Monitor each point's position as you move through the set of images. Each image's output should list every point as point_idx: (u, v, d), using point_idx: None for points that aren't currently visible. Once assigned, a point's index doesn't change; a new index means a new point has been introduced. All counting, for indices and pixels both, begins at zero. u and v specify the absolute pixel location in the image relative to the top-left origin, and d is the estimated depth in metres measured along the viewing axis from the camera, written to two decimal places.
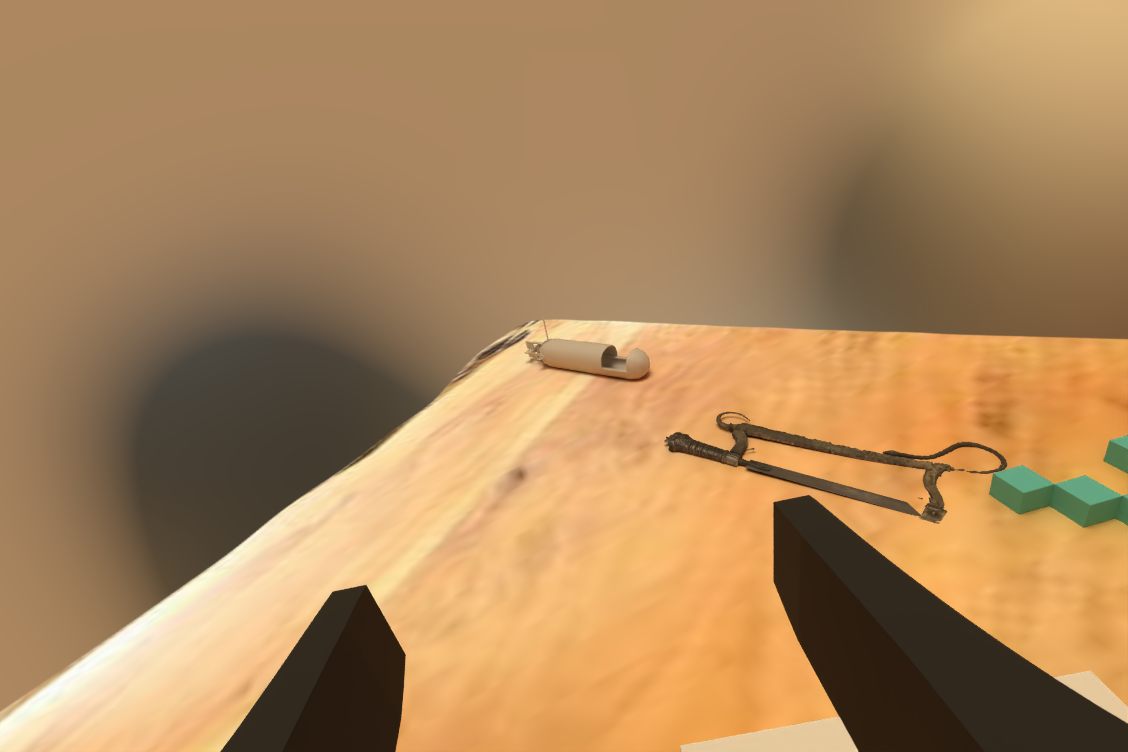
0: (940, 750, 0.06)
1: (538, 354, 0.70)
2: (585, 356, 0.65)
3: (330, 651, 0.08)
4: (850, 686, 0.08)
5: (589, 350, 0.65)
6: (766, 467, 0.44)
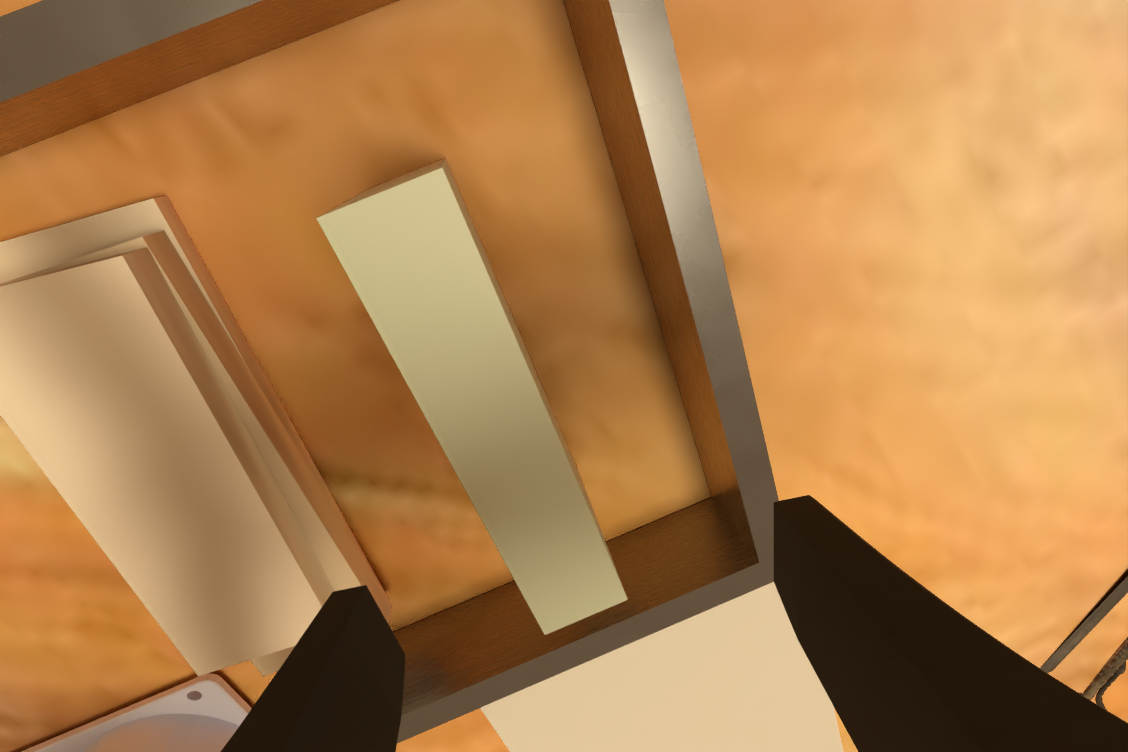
0: (940, 750, 0.06)
1: None
2: None
3: (330, 651, 0.08)
4: (849, 686, 0.08)
5: None
6: None
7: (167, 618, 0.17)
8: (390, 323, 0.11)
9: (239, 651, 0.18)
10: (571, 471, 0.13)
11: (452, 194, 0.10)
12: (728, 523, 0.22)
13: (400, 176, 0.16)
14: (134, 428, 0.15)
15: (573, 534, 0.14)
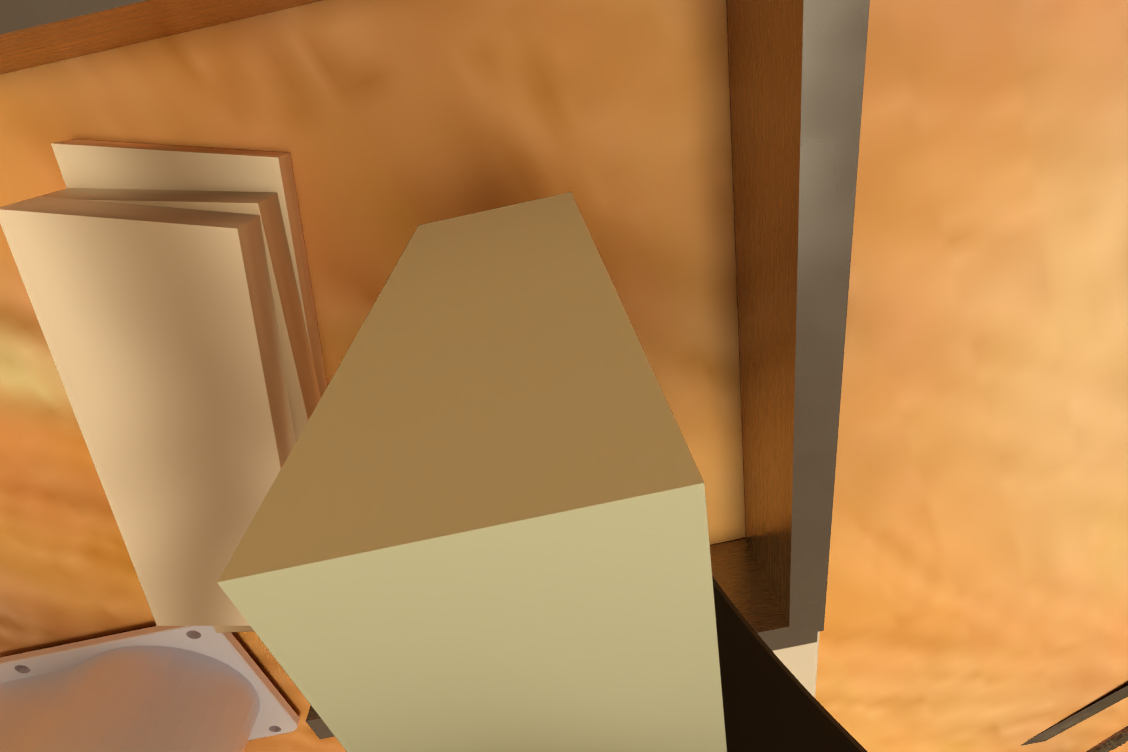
0: None
1: None
2: None
3: None
4: None
5: None
6: None
7: (146, 568, 0.16)
8: None
9: (207, 616, 0.17)
10: None
11: (704, 550, 0.03)
12: (761, 573, 0.21)
13: (484, 223, 0.08)
14: (182, 393, 0.14)
15: None
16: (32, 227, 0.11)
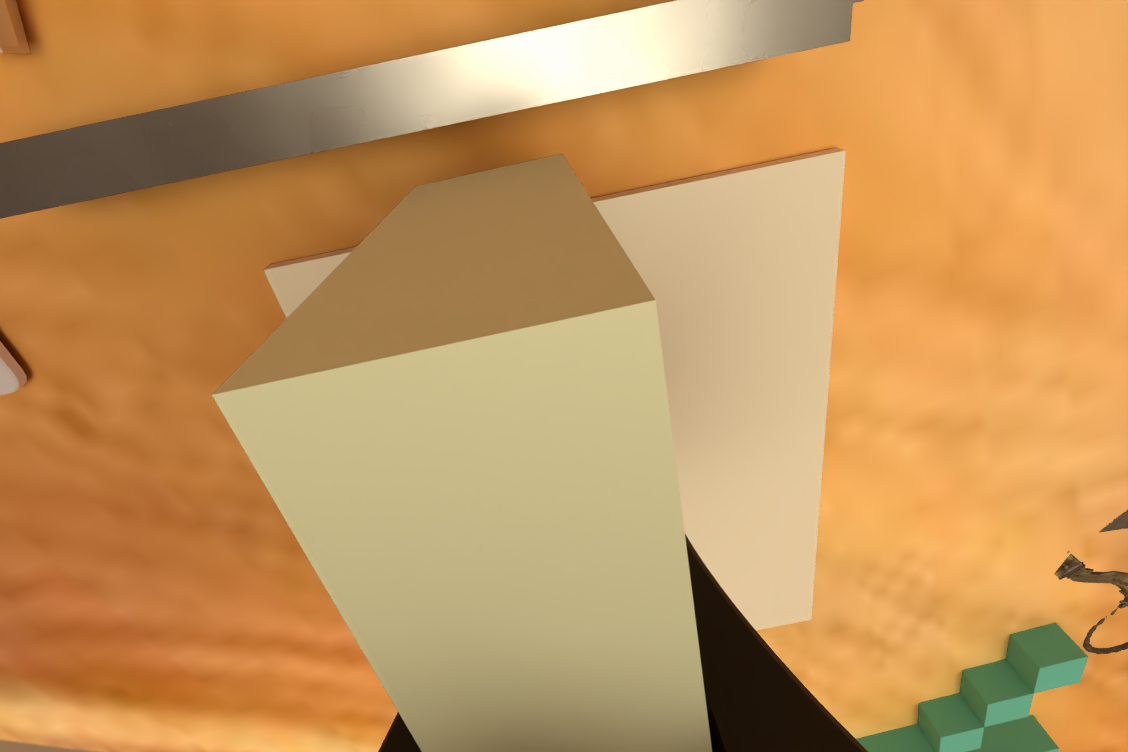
0: None
1: None
2: None
3: None
4: None
5: None
6: None
7: None
8: (402, 649, 0.04)
9: None
10: None
11: (659, 378, 0.03)
12: None
13: (477, 179, 0.08)
14: None
15: None
16: None
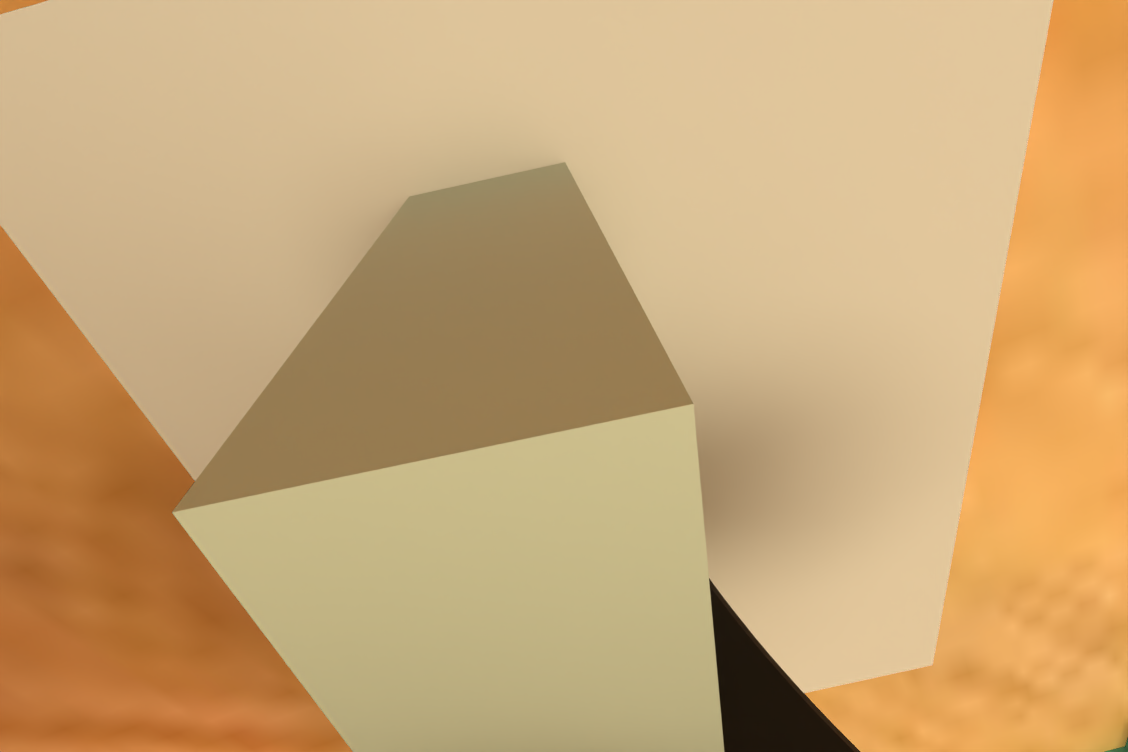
0: None
1: None
2: None
3: None
4: None
5: None
6: None
7: None
8: (399, 751, 0.04)
9: None
10: None
11: (694, 482, 0.03)
12: None
13: (475, 192, 0.08)
14: None
15: None
16: None
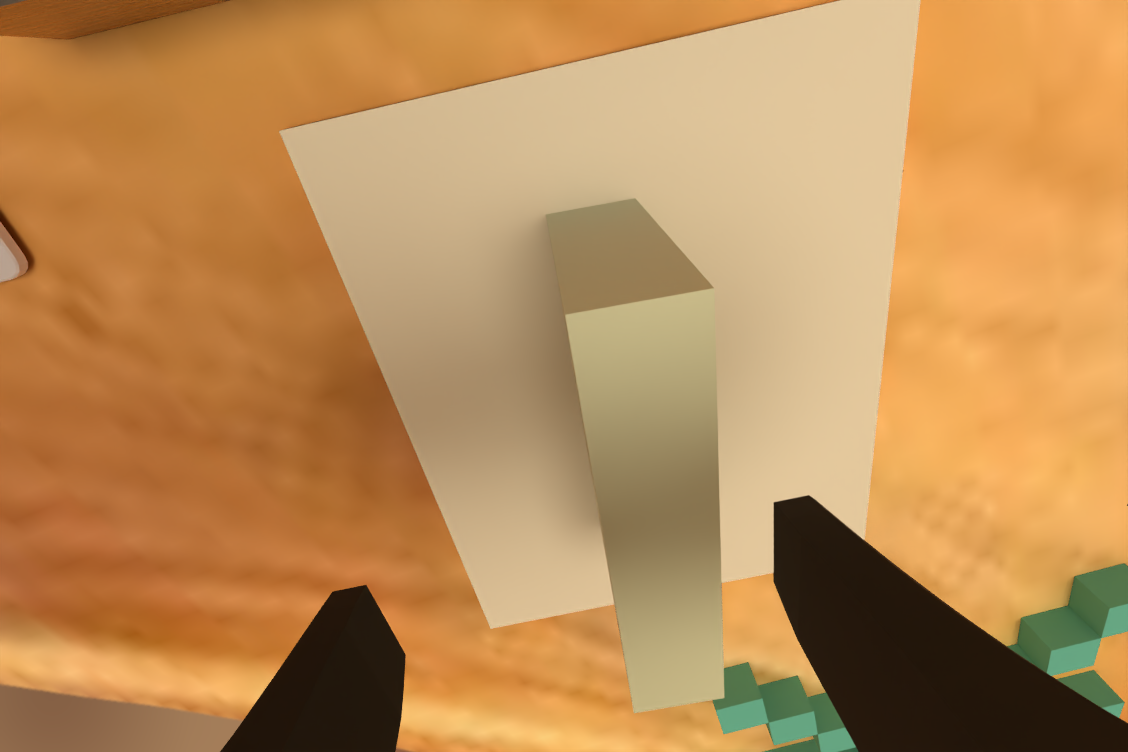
0: (940, 750, 0.06)
1: None
2: None
3: (330, 651, 0.08)
4: (849, 686, 0.08)
5: None
6: None
7: None
8: (600, 425, 0.10)
9: None
10: (719, 584, 0.13)
11: (712, 315, 0.09)
12: None
13: (588, 214, 0.14)
14: None
15: (697, 637, 0.14)
16: None
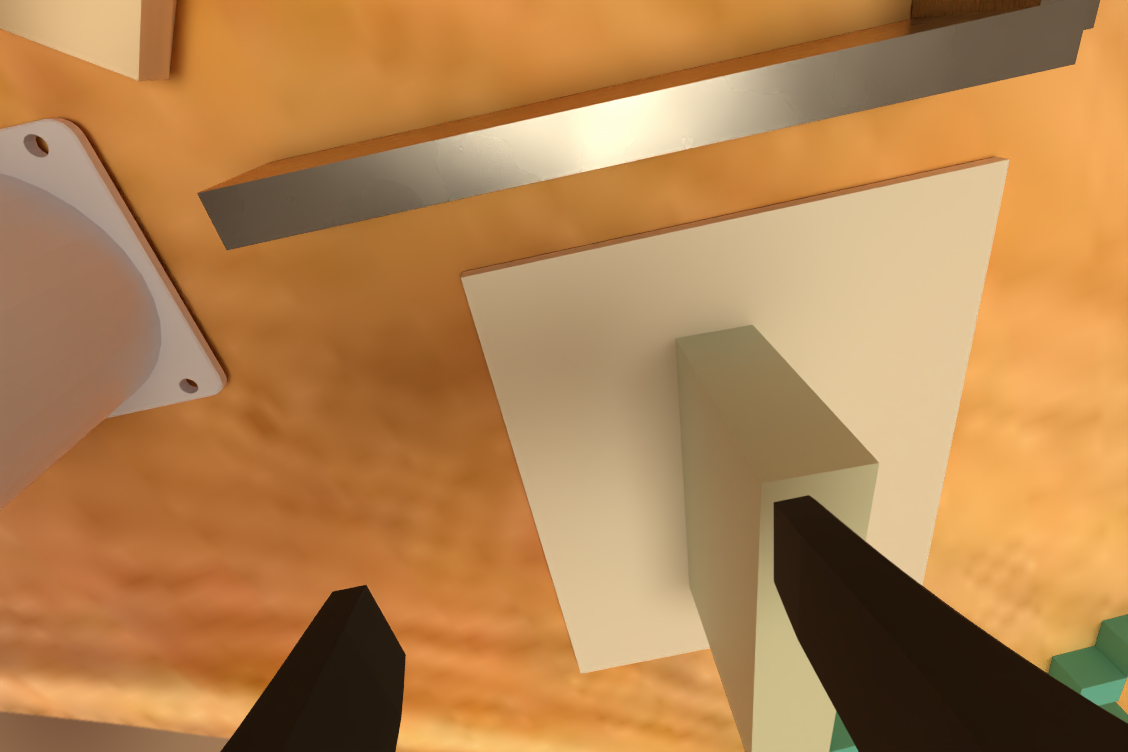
0: (940, 750, 0.06)
1: None
2: None
3: (330, 651, 0.08)
4: (849, 686, 0.08)
5: None
6: None
7: None
8: (771, 557, 0.13)
9: None
10: None
11: (874, 480, 0.12)
12: (954, 15, 0.13)
13: (718, 343, 0.17)
14: None
15: (815, 708, 0.16)
16: None
